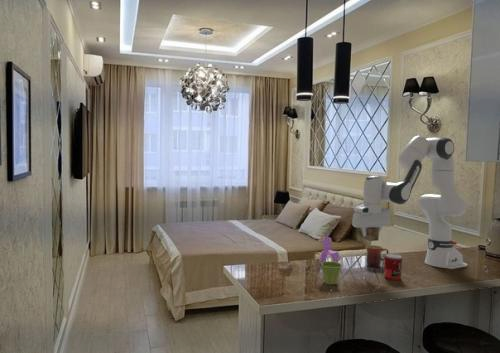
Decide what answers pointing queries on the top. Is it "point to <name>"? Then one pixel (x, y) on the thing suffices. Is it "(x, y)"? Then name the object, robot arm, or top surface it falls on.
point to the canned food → (393, 266)
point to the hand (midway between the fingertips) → (371, 235)
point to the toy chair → (328, 251)
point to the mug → (374, 255)
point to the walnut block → (372, 234)
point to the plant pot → (331, 272)
